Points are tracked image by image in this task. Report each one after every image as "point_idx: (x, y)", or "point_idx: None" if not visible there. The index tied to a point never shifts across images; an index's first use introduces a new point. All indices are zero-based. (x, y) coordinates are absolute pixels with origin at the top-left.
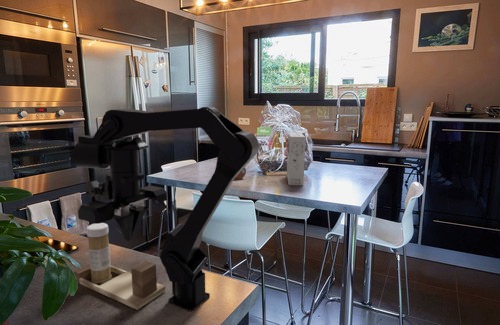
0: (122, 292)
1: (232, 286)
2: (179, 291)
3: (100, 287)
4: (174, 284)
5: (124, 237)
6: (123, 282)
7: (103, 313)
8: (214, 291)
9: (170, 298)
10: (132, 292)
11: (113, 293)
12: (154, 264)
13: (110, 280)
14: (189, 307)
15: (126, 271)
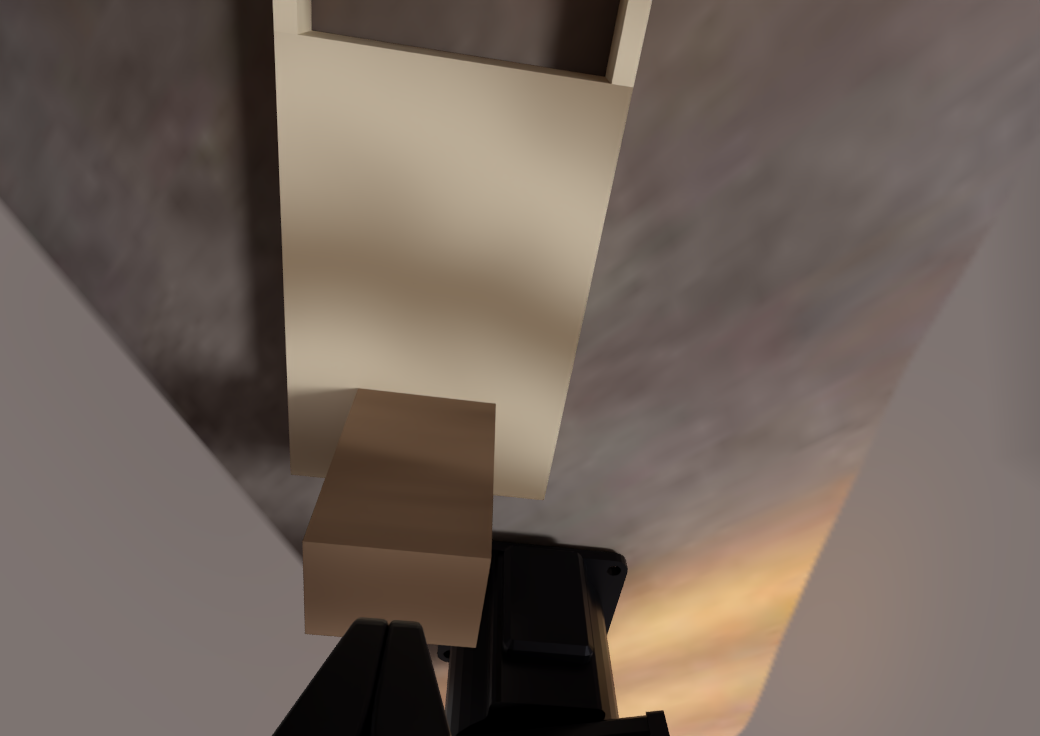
0: (337, 307)
1: (716, 695)
2: (449, 670)
3: (285, 72)
4: (490, 634)
5: (327, 660)
6: (452, 210)
7: (157, 290)
8: (644, 655)
9: None
10: (375, 371)
11: (289, 255)
12: (466, 641)
13: (423, 63)
14: (448, 649)
15: (630, 83)
